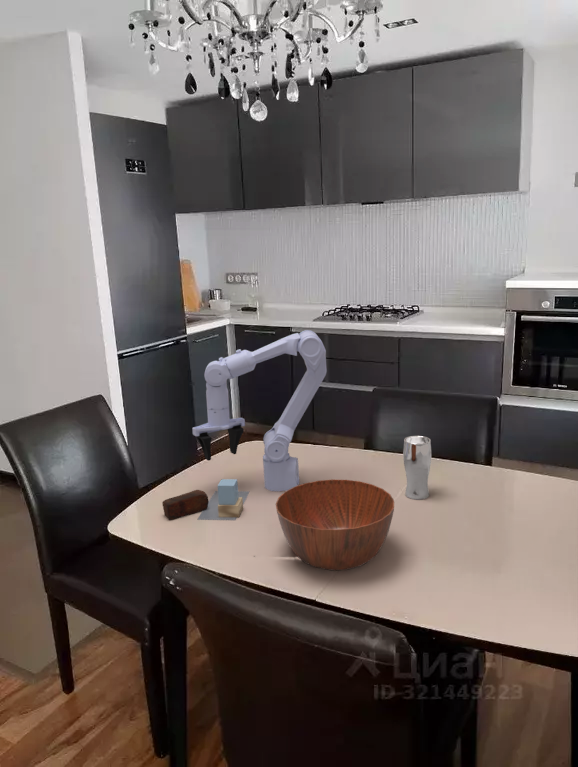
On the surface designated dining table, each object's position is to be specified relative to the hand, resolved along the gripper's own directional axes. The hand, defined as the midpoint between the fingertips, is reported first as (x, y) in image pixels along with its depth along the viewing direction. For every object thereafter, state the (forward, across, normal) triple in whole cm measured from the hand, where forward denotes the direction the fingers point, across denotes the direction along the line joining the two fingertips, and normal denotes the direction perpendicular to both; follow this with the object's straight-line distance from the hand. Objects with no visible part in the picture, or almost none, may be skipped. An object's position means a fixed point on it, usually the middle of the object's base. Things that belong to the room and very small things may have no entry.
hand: (220, 456), depth 160 cm
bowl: (+10, +4, -44) cm, 45 cm away
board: (+10, -4, -9) cm, 14 cm away
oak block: (+10, -5, -14) cm, 18 cm away
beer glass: (+10, +38, -34) cm, 53 cm away
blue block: (+7, -5, -14) cm, 16 cm away
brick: (+10, -13, -7) cm, 18 cm away
